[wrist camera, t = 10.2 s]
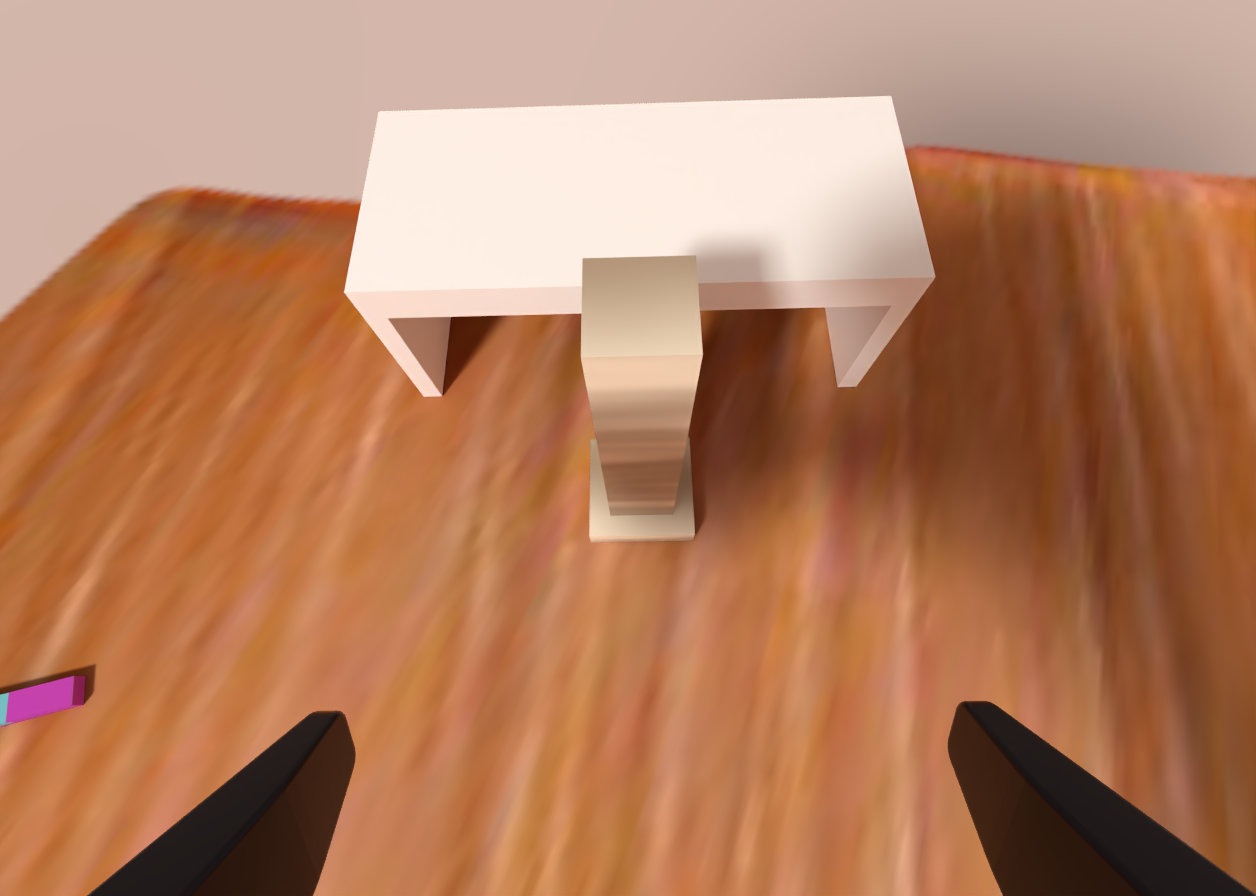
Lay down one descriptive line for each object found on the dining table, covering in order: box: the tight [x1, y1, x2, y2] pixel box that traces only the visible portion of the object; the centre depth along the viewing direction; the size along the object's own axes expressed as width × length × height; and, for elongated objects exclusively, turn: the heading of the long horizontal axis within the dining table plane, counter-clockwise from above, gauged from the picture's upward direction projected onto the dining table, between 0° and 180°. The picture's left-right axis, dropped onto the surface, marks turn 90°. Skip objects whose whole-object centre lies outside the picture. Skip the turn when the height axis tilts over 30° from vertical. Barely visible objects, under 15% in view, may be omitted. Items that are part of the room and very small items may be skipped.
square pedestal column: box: [581, 255, 703, 542], centre depth 20 cm, size 16×7×13 cm, turn 1°
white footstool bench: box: [344, 96, 935, 397], centre depth 24 cm, size 8×19×8 cm, turn 91°
